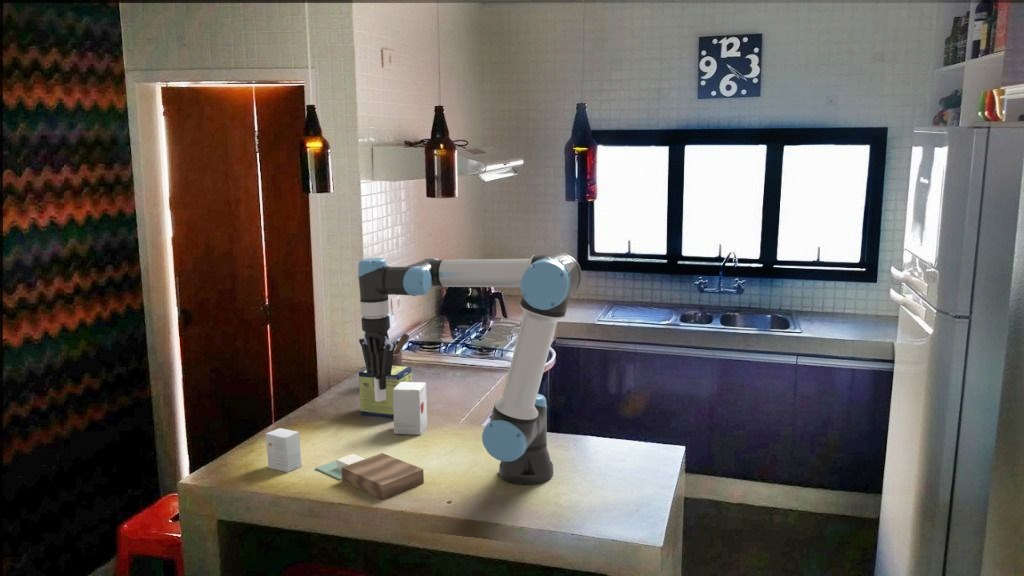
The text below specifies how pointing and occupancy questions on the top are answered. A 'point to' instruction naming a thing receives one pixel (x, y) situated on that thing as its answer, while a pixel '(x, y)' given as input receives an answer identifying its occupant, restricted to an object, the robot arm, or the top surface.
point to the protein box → (386, 406)
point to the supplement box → (410, 408)
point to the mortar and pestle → (397, 353)
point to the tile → (348, 460)
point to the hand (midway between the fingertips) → (380, 400)
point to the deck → (382, 475)
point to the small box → (283, 450)
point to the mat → (332, 469)
